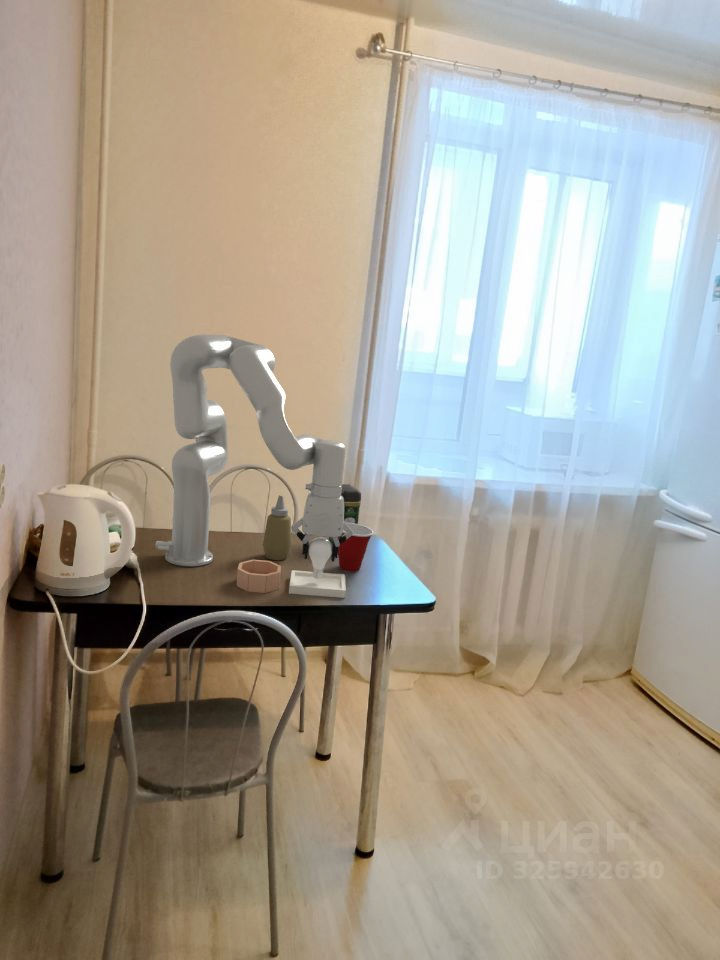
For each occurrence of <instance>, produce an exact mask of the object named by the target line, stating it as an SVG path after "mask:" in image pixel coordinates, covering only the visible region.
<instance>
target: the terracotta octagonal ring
mask: <svg viewBox="0 0 720 960" xmlns="http://www.w3.org/2000/svg"><path fill="white" fill-rule="evenodd" d="M281 574H282V566H281V565H280V564H278V563H276V562H274V561H272V560H264V559H263V560H260V559H249V560H246V561H241V562H239V564H238V567H237V571H236V586H237V587H238V588H239V589H242V590H244V591H246V592H250V593H260V594H261V593H264V594H266V593H269V592H273V591H276V590H279V588H280V583H281Z"/></svg>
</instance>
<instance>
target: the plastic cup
mask: <svg viewBox="0 0 720 960" xmlns="http://www.w3.org/2000/svg"><path fill="white" fill-rule="evenodd" d="M346 524H347V525H348V526H349V528H350V529H351V530H352V531H353V535H352V536H350V537H349V538H348V539H346V541H344V542H343V543H342V544H341V545H340V546H339V547H338V555H337V558H338V566H339V569H340V570H341V571H344V572H350V573H352V572H353V573H356V572H358V571H360V570H361V567H362V564H363V560H364V557H365V554H366V551H367V548H368V545H369V544H368V543H369V541H370V540H371V537H372V536H373V535H374V530H373V529H372V528H370V527H369V526H365V525H363V524H359V523H358V524H355V523H346ZM345 533H346V531H345V530H344V529H343V532H342V535H344V534H345ZM342 535H341V536H342ZM341 536H340V537H341Z"/></svg>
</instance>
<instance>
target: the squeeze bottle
mask: <svg viewBox="0 0 720 960" xmlns="http://www.w3.org/2000/svg"><path fill="white" fill-rule="evenodd" d="M291 519H292V518H291V516H290V515H289V508H287V507H285V501H284V495H283V494H281V495H278V497H277V501H276V504H275V506H272V507H271V512H270V514H269V515H267V519H266V524H265V530H264V536H263V541H262V547H263V551H264V552H263V553H264V555H265V557H266V558H267V559H270V560H271V561H272V560H273V561H283V560H286V559H287V557H288V555H289V553H290V550H291V548H292V529H291V527H292V520H291Z"/></svg>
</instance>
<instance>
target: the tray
mask: <svg viewBox="0 0 720 960" xmlns="http://www.w3.org/2000/svg"><path fill="white" fill-rule="evenodd" d="M312 575H313V571H307V570H306V571H304V570H296V569H294V570H291V574H290V581H289V587H288V588H289V589H288V594H290V595H291V594H293V595H305V596H315V597H316V596H318V597H330V598H342V599H345V598H346V591H347V588H346V574H344V573H329V572H323V577H322V578H320V579H315V578H314V577H313V576H312Z"/></svg>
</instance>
